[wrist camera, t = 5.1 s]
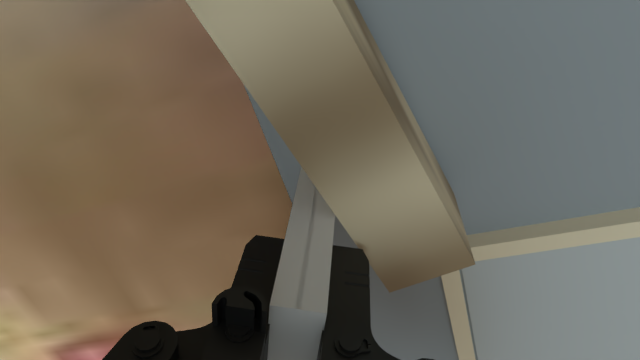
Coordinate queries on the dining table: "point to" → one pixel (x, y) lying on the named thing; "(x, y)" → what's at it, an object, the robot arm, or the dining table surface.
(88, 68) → the dining table surface
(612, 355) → the jig board
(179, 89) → the dining table surface
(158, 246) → the dining table surface
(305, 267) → the robot arm
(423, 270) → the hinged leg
